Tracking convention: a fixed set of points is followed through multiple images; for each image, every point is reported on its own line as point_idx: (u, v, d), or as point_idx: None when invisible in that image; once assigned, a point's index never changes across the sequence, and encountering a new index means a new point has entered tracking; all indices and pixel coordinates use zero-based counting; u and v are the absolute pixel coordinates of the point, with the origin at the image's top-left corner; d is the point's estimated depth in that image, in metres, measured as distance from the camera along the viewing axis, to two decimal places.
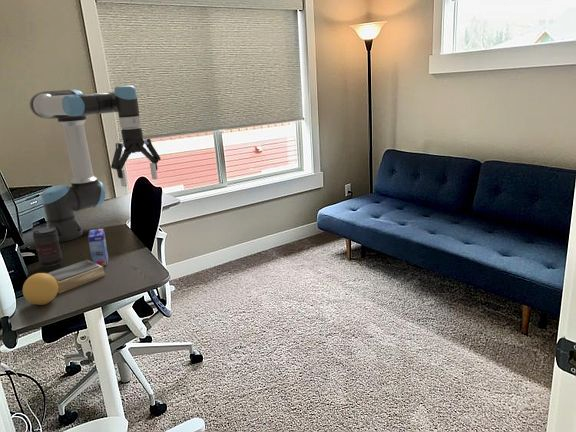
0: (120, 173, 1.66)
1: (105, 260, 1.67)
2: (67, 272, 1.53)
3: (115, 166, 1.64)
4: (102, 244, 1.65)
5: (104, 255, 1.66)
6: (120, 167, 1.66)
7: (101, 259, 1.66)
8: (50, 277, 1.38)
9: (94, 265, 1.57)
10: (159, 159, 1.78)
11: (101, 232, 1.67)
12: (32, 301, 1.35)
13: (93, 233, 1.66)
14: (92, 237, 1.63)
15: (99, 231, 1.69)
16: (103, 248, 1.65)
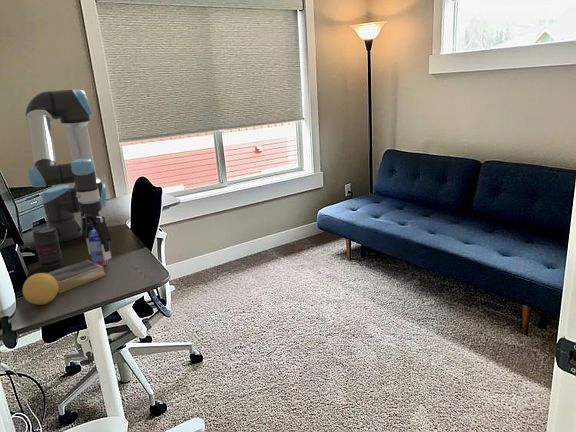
0: (87, 240, 1.72)
1: (105, 260, 1.67)
2: (67, 272, 1.53)
3: (82, 233, 1.72)
4: None
5: None
6: (85, 235, 1.71)
7: (101, 259, 1.66)
8: (50, 277, 1.38)
9: (94, 265, 1.57)
10: (104, 242, 1.62)
11: None
12: (32, 301, 1.35)
13: (93, 233, 1.66)
14: (92, 237, 1.63)
15: None
16: None
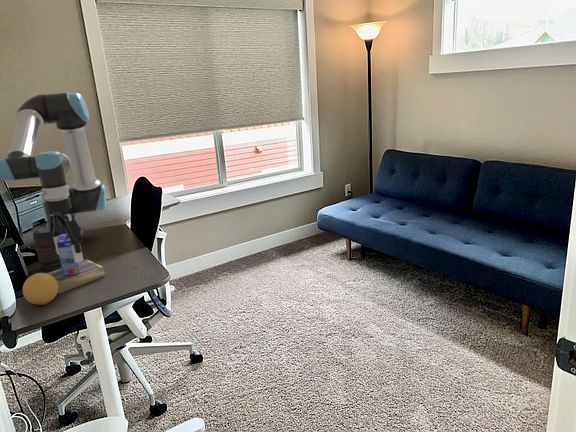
0: None
1: (77, 268, 1.50)
2: None
3: (49, 231, 1.56)
4: None
5: None
6: (52, 234, 1.55)
7: (72, 266, 1.50)
8: (50, 277, 1.38)
9: (94, 265, 1.57)
10: (74, 242, 1.44)
11: None
12: (32, 301, 1.35)
13: (63, 238, 1.50)
14: (61, 242, 1.47)
15: None
16: None
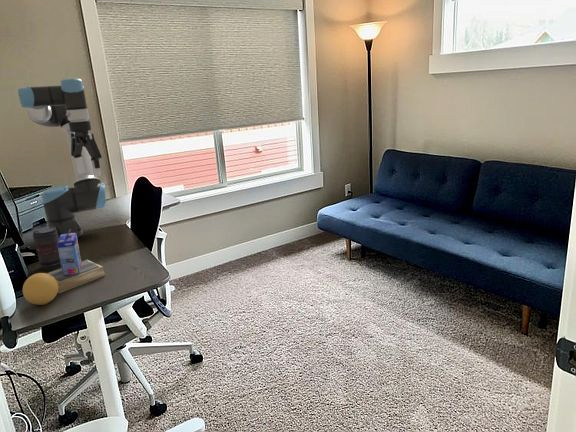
0: None
1: (77, 268, 1.50)
2: None
3: (71, 153, 1.78)
4: (73, 250, 1.48)
5: (75, 262, 1.50)
6: (74, 155, 1.77)
7: (72, 266, 1.50)
8: (50, 277, 1.38)
9: (94, 265, 1.57)
10: (94, 158, 1.66)
11: (72, 237, 1.51)
12: (32, 301, 1.35)
13: (63, 238, 1.50)
14: (61, 242, 1.47)
15: (70, 236, 1.52)
16: (74, 255, 1.49)
